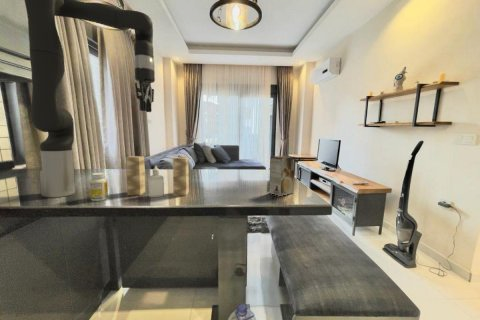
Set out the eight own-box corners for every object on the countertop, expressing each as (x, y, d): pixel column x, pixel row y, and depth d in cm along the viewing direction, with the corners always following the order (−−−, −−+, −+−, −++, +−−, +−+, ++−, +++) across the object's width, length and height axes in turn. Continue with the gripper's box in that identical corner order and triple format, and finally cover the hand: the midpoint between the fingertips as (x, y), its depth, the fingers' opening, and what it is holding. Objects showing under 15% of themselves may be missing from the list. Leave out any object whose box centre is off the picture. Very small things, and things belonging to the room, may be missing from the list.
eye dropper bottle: (160, 198, 84) (159, 167, 83) (146, 197, 85) (145, 166, 83) (165, 194, 88) (165, 165, 87) (152, 193, 89) (152, 164, 88)
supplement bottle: (96, 202, 78) (94, 175, 76) (88, 199, 80) (86, 173, 79) (111, 198, 82) (110, 173, 81) (103, 196, 85) (101, 171, 84)
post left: (127, 195, 87) (125, 157, 85) (133, 191, 92) (131, 156, 90) (140, 195, 87) (139, 157, 85) (145, 191, 92) (144, 156, 90)
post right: (173, 195, 87) (172, 158, 86) (176, 192, 92) (176, 156, 90) (186, 195, 88) (185, 158, 86) (188, 192, 93) (188, 157, 91)
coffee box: (282, 190, 100) (283, 155, 98) (293, 193, 95) (296, 156, 93) (268, 193, 94) (270, 156, 92) (280, 197, 89) (282, 158, 87)
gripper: (142, 73, 97) (143, 112, 99) (126, 63, 83) (128, 109, 85) (159, 74, 97) (160, 113, 99) (147, 64, 83) (148, 110, 85)
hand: (145, 111), depth 92 cm, fingers open, 5 cm apart
